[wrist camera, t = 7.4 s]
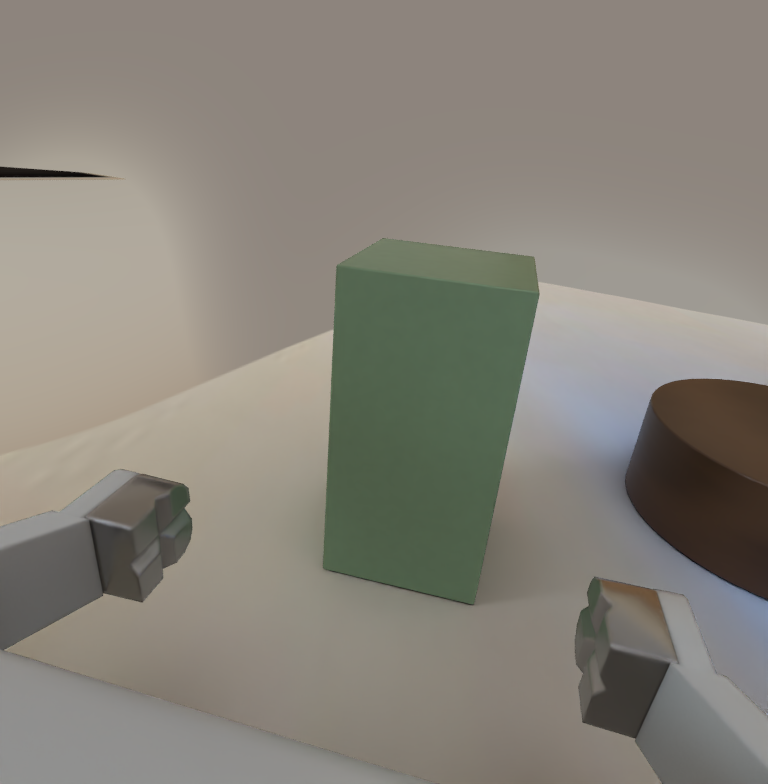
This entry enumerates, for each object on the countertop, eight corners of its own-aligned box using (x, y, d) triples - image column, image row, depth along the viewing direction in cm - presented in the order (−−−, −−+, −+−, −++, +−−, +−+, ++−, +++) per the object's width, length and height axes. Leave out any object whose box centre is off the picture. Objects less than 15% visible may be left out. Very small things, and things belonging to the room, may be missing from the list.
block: (322, 568, 17) (335, 264, 13) (362, 485, 22) (382, 237, 18) (473, 605, 17) (539, 292, 12) (483, 510, 21) (534, 256, 17)
